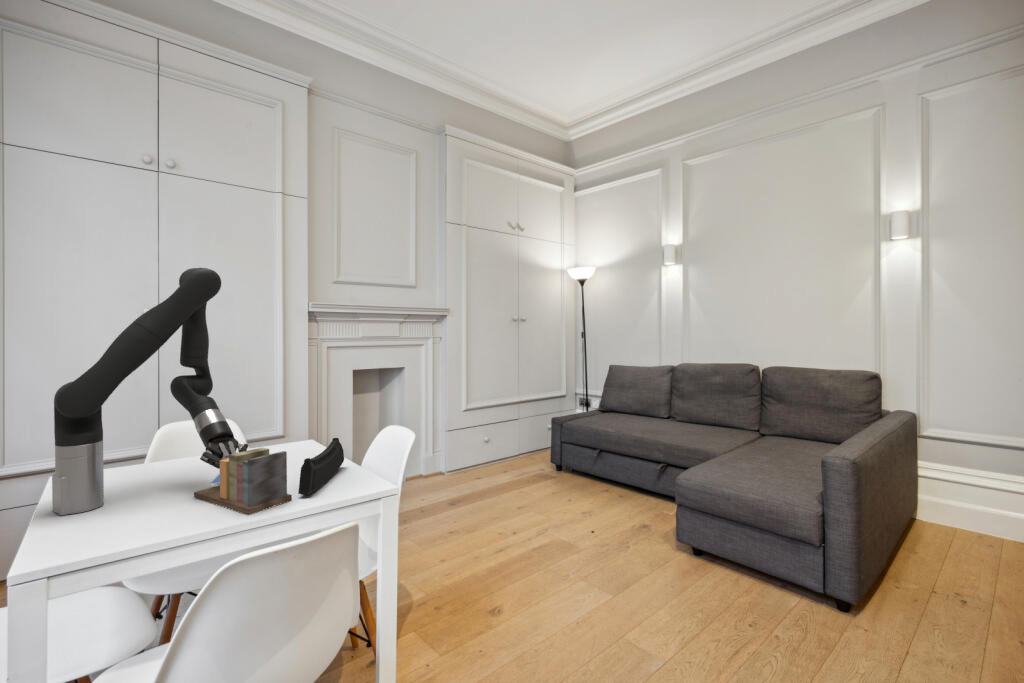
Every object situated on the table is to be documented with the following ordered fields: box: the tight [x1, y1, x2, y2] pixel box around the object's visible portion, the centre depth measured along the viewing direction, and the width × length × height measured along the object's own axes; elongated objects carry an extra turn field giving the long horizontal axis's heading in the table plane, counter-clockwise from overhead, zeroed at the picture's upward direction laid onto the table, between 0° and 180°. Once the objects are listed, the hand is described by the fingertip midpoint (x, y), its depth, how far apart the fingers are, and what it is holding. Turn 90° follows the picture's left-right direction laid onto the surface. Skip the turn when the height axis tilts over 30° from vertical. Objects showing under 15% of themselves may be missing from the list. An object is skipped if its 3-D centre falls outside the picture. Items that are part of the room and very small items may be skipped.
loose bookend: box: [219, 459, 229, 499], centre depth 128 cm, size 10×3×10 cm, turn 150°
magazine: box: [297, 437, 345, 496], centre depth 143 cm, size 17×3×30 cm
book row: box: [193, 447, 293, 516], centre depth 128 cm, size 12×26×14 cm, turn 60°
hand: (237, 476), depth 129 cm, fingers closed
